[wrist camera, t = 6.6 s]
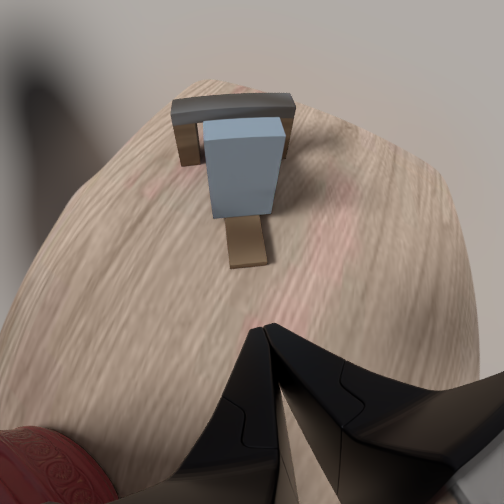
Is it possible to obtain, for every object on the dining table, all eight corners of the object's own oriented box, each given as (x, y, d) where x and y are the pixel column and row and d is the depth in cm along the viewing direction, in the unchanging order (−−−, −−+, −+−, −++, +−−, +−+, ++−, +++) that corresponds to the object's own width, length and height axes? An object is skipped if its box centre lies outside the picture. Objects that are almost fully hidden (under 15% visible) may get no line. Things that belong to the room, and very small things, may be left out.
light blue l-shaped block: (270, 213, 24) (285, 136, 16) (213, 218, 23) (203, 140, 15) (254, 137, 28) (260, 66, 20) (208, 141, 28) (203, 69, 19)
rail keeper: (312, 260, 23) (338, 216, 17) (182, 273, 22) (161, 232, 16) (274, 122, 31) (281, 74, 24) (183, 128, 30) (175, 80, 23)
